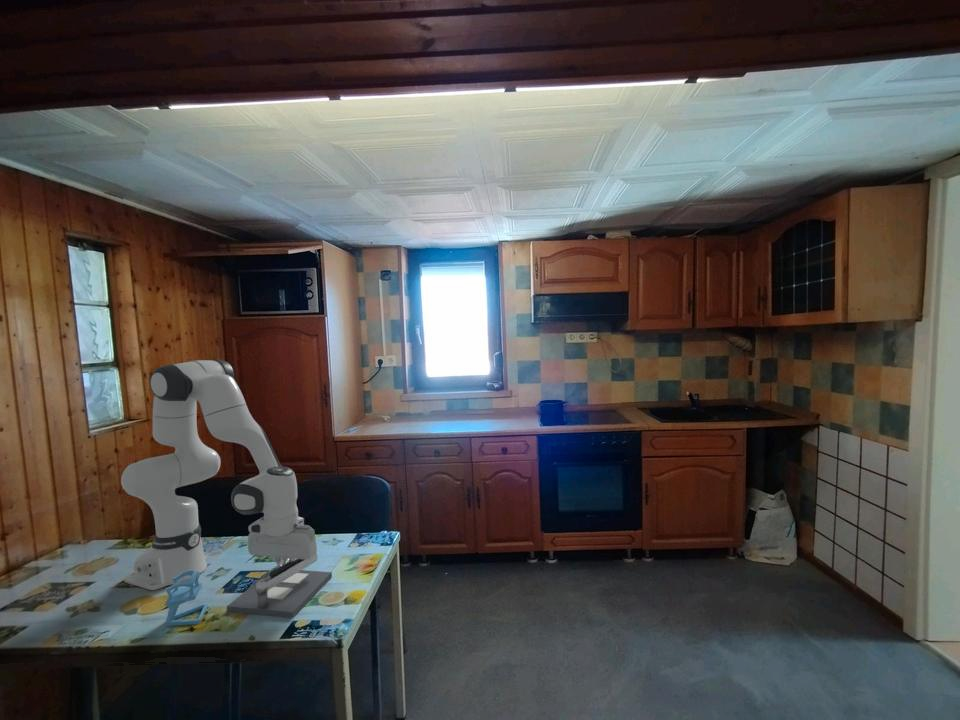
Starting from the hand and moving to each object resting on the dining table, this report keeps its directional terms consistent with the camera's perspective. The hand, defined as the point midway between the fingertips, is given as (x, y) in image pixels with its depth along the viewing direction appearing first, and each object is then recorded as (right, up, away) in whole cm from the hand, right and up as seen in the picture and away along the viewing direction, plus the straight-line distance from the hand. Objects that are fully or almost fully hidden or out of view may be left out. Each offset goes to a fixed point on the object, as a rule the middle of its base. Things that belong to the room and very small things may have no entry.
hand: (283, 570), depth 117 cm
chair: (-21, -8, -10) cm, 25 cm away
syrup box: (-5, -6, +18) cm, 19 cm away
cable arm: (+2, -1, -1) cm, 3 cm away
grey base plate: (0, -7, 0) cm, 7 cm away
